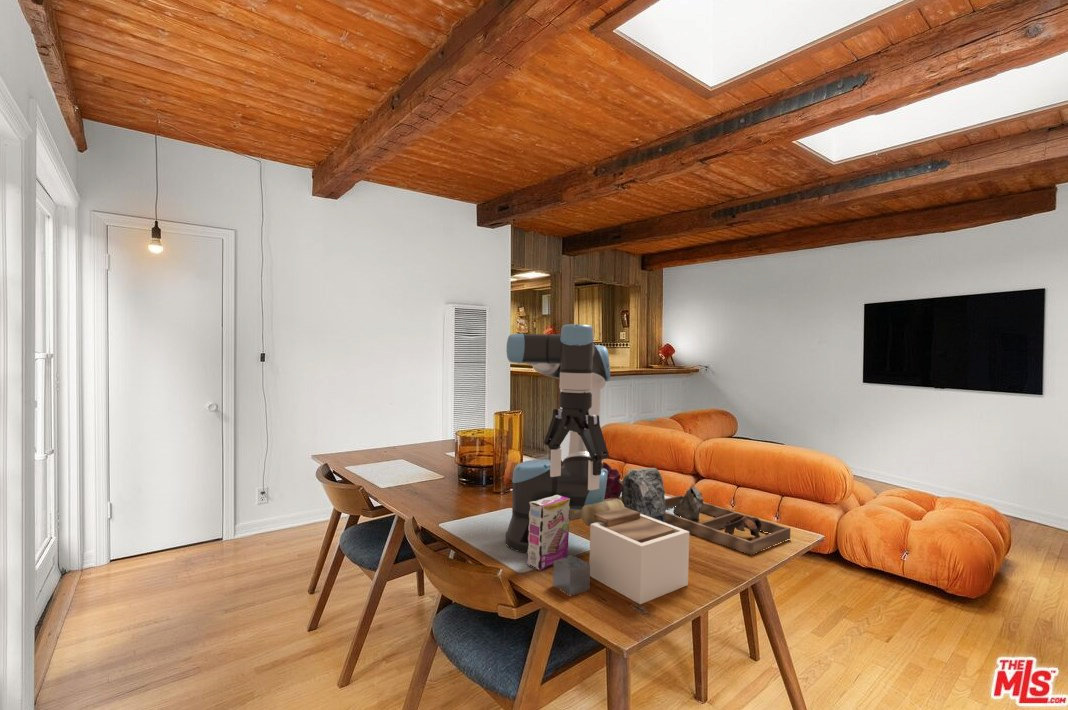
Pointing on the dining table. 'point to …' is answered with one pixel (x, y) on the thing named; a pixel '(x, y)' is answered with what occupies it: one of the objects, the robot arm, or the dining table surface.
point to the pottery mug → (739, 522)
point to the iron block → (571, 575)
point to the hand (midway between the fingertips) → (573, 482)
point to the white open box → (639, 562)
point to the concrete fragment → (690, 504)
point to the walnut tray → (712, 527)
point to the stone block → (644, 492)
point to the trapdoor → (623, 521)
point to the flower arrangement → (611, 482)
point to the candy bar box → (548, 531)
